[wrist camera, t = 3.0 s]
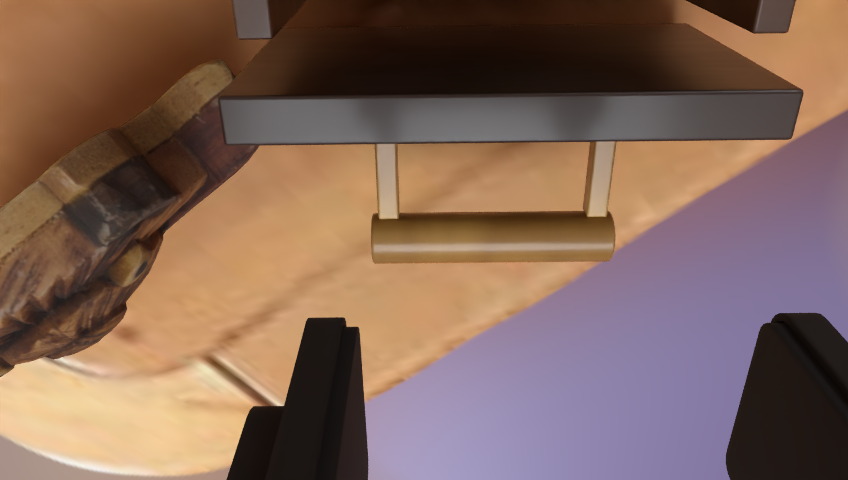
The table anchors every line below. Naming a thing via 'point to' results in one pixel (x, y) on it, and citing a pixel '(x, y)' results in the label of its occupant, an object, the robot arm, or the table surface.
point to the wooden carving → (107, 219)
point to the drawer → (502, 109)
